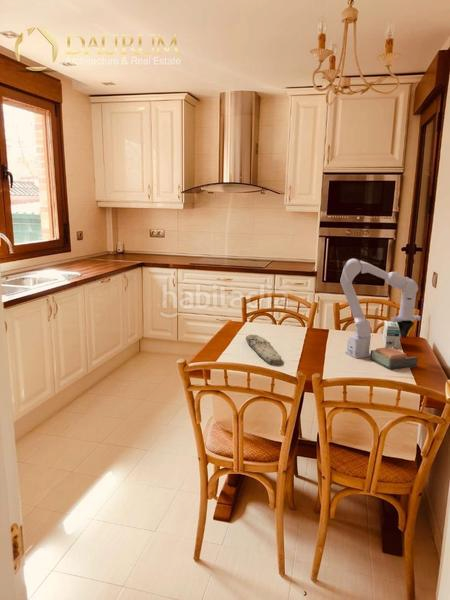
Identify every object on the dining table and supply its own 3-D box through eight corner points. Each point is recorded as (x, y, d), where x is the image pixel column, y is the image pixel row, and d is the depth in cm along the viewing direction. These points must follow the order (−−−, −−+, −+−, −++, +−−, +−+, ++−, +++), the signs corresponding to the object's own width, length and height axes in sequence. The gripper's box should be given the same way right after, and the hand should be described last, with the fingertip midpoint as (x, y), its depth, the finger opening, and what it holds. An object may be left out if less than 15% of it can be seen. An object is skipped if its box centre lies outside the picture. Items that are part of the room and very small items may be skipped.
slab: (390, 361, 180) (391, 355, 179) (375, 353, 188) (376, 348, 188) (405, 359, 183) (406, 353, 182) (390, 352, 191) (391, 346, 191)
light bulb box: (399, 348, 206) (402, 327, 204) (384, 347, 207) (387, 325, 205) (395, 341, 216) (398, 321, 214) (381, 340, 218) (384, 320, 215)
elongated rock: (264, 369, 179) (286, 369, 182) (266, 358, 178) (288, 357, 181) (240, 339, 212) (259, 339, 214) (242, 329, 210) (261, 329, 213)
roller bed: (390, 370, 179) (391, 359, 177) (369, 359, 190) (370, 349, 189) (416, 366, 183) (417, 356, 182) (394, 356, 195) (396, 346, 194)
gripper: (400, 310, 180) (396, 341, 183) (427, 308, 185) (423, 338, 188) (388, 306, 187) (385, 336, 190) (415, 304, 192) (411, 333, 195)
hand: (403, 336), depth 190 cm, fingers closed
